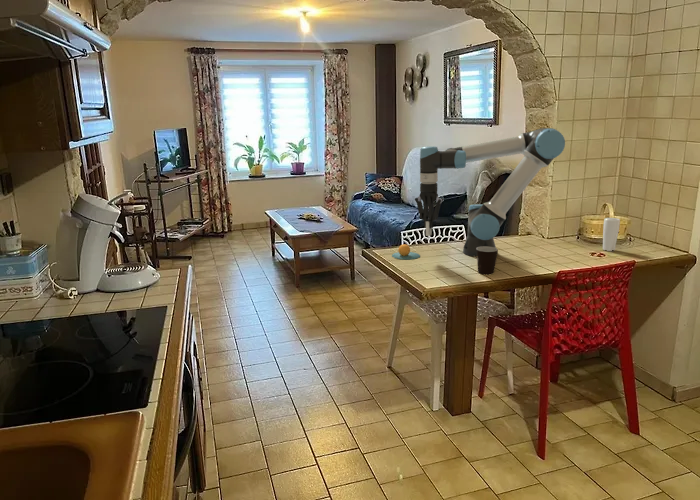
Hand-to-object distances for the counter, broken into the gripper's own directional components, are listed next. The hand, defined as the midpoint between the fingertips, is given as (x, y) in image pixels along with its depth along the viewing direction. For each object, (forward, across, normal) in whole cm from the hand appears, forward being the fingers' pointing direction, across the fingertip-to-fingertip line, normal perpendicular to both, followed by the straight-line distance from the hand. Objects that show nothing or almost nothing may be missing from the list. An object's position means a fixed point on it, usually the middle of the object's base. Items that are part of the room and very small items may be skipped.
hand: (428, 235), depth 235 cm
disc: (+11, -12, 0) cm, 16 cm away
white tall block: (+13, +64, +60) cm, 88 cm away
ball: (+8, -12, -1) cm, 15 cm away
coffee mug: (+12, +29, -3) cm, 31 cm away
